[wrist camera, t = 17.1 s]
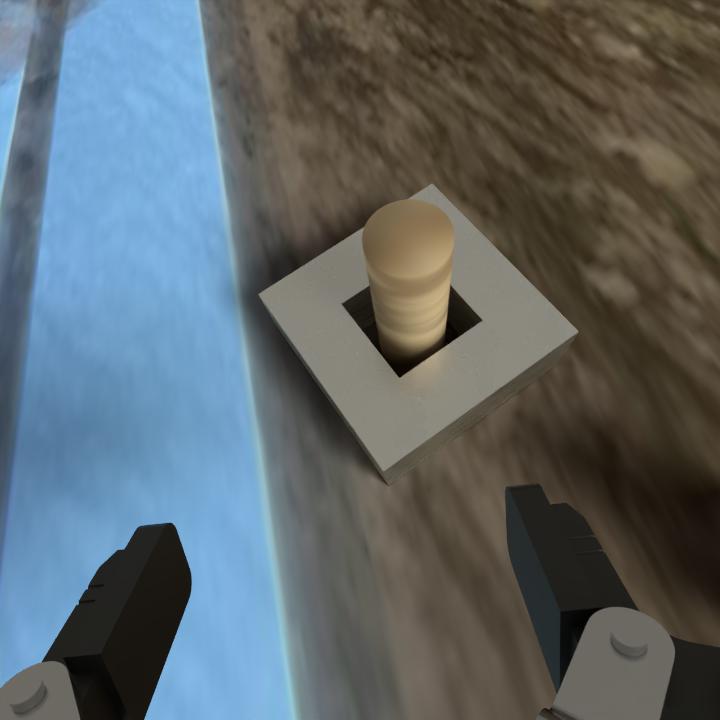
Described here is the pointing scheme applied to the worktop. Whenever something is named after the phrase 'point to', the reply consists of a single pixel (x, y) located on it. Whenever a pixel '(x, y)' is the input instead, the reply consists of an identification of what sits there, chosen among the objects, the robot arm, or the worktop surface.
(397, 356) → the peg
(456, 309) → the white square frame block
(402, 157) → the worktop surface
